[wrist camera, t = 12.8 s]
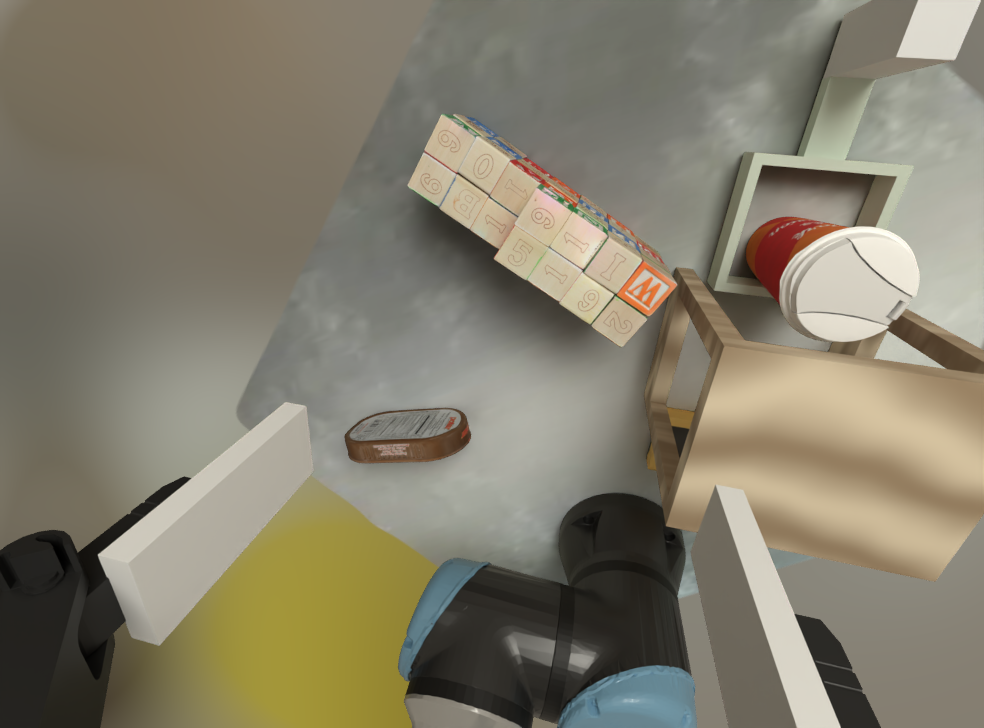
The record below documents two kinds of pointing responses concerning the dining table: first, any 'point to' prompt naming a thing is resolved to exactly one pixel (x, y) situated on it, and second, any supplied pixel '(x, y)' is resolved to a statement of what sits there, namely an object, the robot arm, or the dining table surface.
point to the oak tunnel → (826, 439)
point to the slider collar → (851, 112)
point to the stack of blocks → (542, 228)
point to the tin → (408, 436)
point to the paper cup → (834, 276)
